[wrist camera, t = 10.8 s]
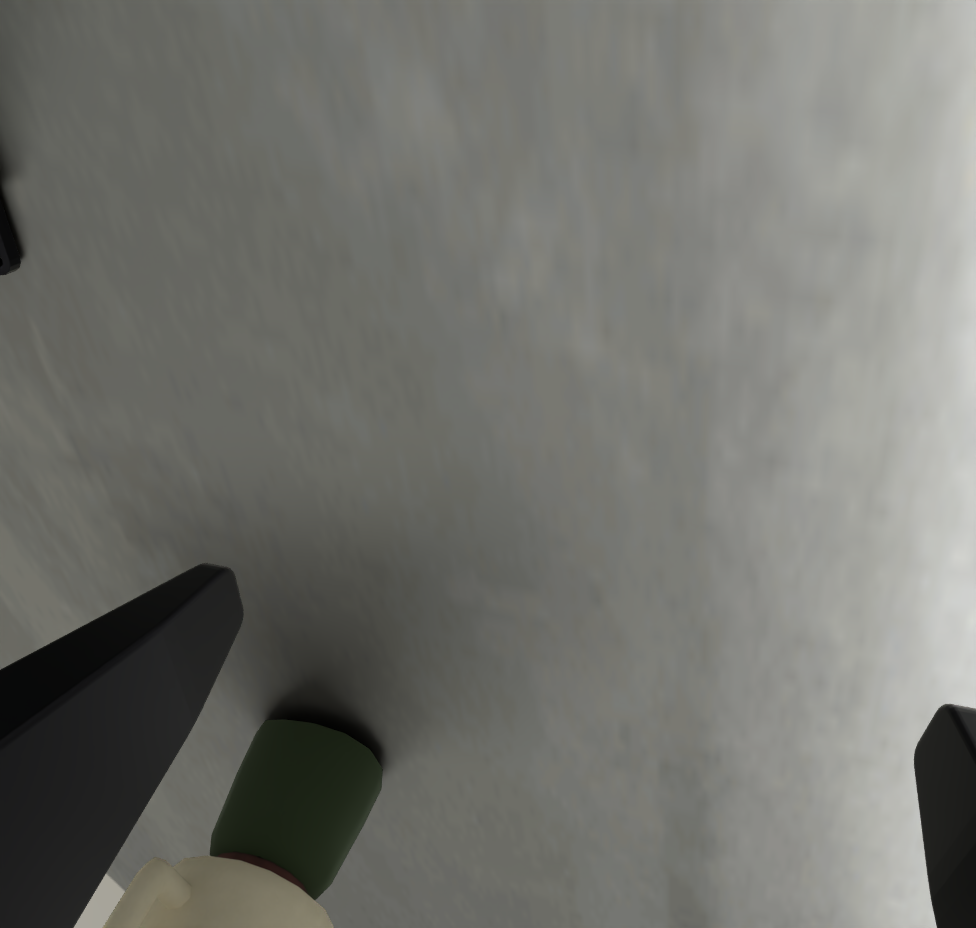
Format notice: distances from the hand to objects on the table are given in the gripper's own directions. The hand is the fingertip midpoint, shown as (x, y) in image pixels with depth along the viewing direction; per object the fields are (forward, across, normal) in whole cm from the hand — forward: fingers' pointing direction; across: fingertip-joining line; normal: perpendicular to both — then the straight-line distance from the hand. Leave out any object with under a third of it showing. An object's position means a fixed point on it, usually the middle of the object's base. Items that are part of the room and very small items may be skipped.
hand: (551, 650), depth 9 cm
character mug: (+11, +11, +22) cm, 27 cm away
